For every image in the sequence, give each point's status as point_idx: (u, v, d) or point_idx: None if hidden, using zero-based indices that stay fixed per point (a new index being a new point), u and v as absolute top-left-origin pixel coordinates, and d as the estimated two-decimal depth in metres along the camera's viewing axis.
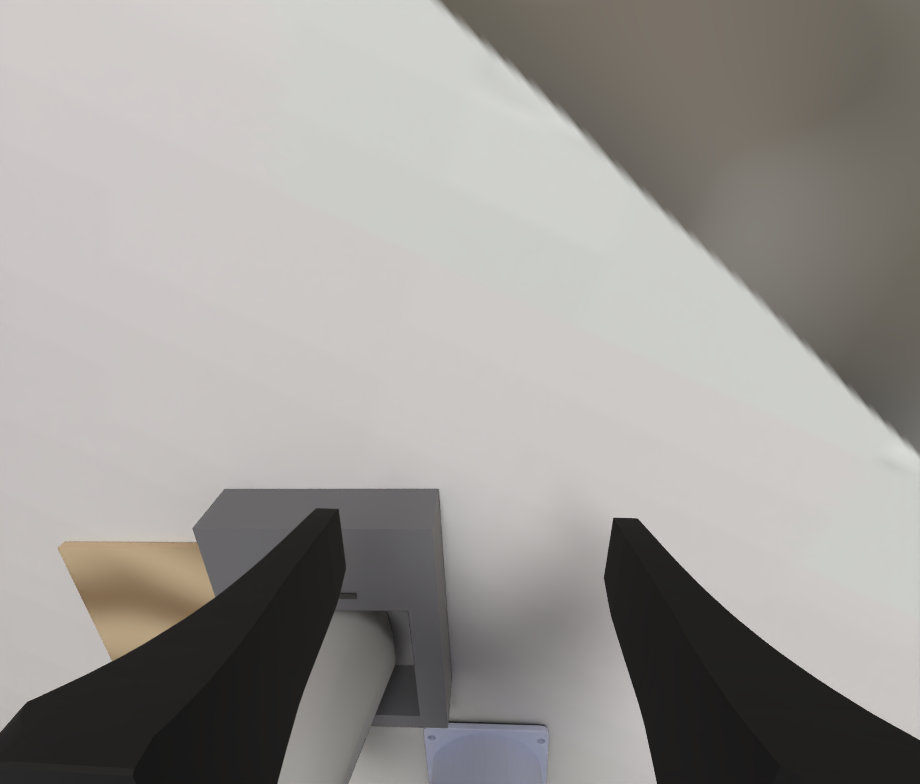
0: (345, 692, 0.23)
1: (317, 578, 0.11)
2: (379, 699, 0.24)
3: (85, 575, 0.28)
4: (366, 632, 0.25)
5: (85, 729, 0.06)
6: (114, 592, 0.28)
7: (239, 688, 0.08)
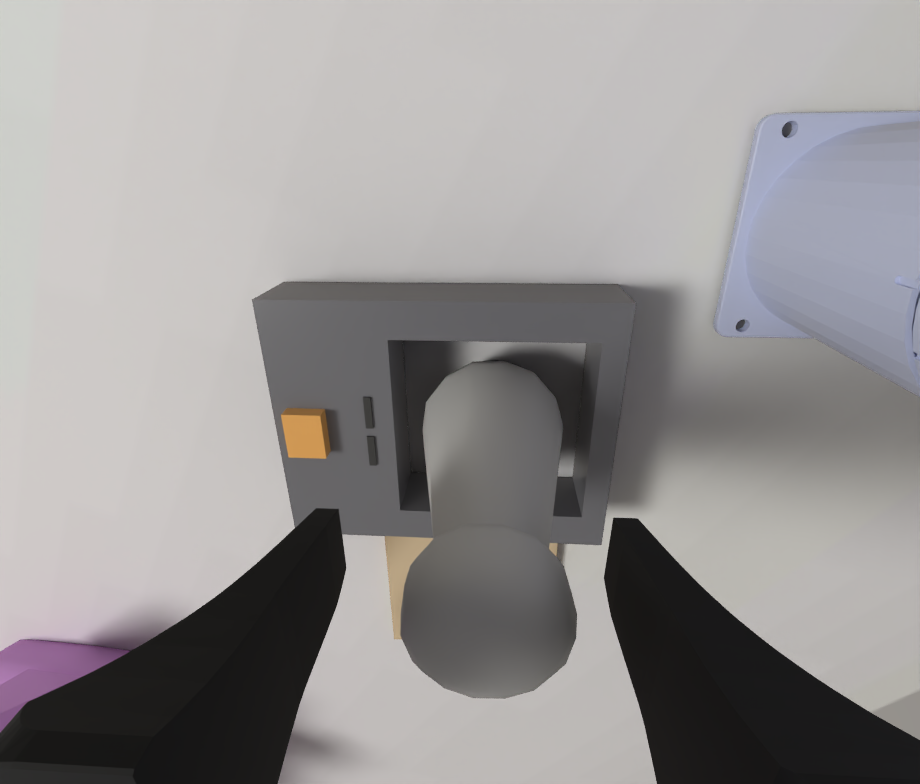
0: (439, 439, 0.17)
1: (317, 578, 0.11)
2: (498, 397, 0.18)
3: None
4: (436, 394, 0.20)
5: (84, 729, 0.06)
6: None
7: (239, 689, 0.08)
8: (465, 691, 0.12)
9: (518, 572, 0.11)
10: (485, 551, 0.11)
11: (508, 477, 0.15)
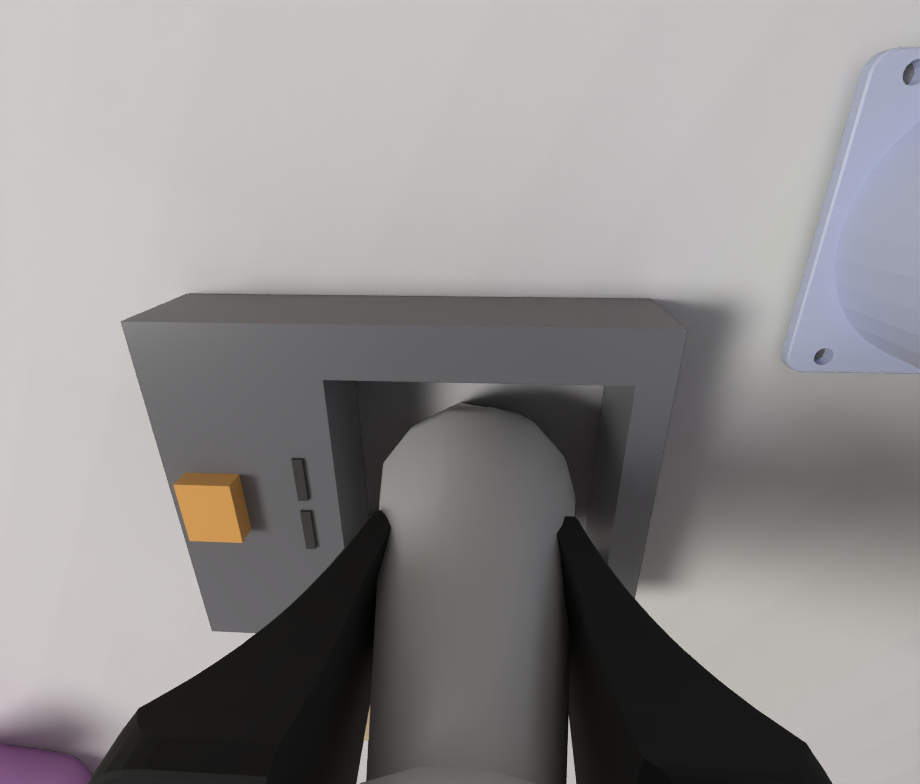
0: (394, 534, 0.11)
1: None
2: (483, 469, 0.12)
3: None
4: (396, 454, 0.14)
5: (206, 737, 0.06)
6: None
7: (333, 693, 0.08)
8: None
9: None
10: None
11: (499, 627, 0.09)
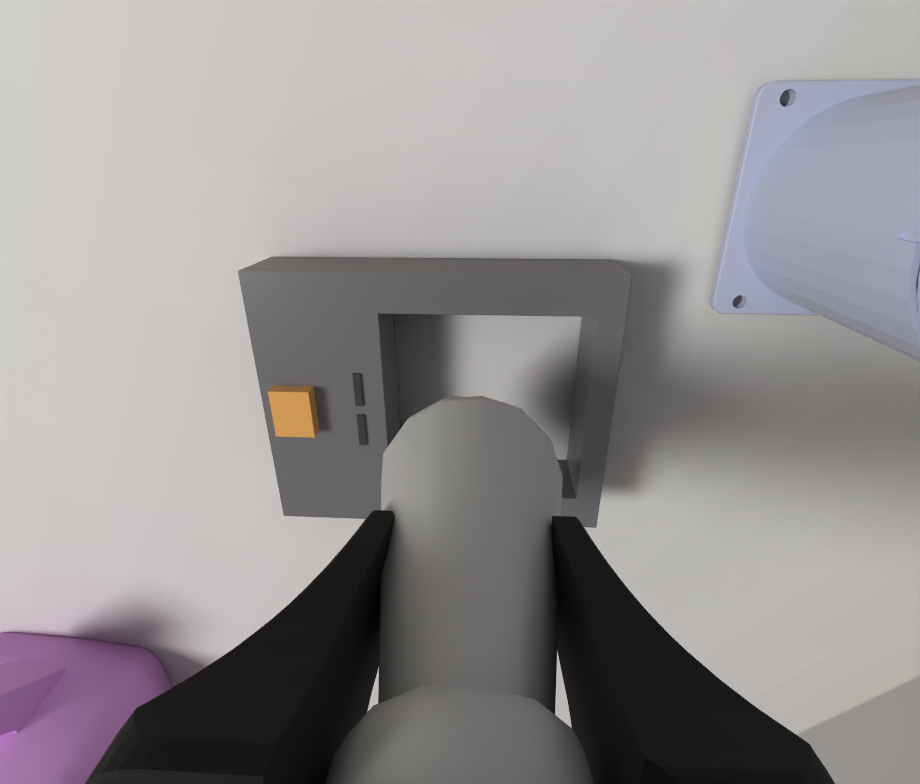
0: (395, 511, 0.12)
1: None
2: (475, 449, 0.13)
3: None
4: (395, 443, 0.15)
5: (205, 737, 0.06)
6: None
7: (331, 693, 0.08)
8: None
9: None
10: (450, 757, 0.06)
11: (491, 579, 0.10)
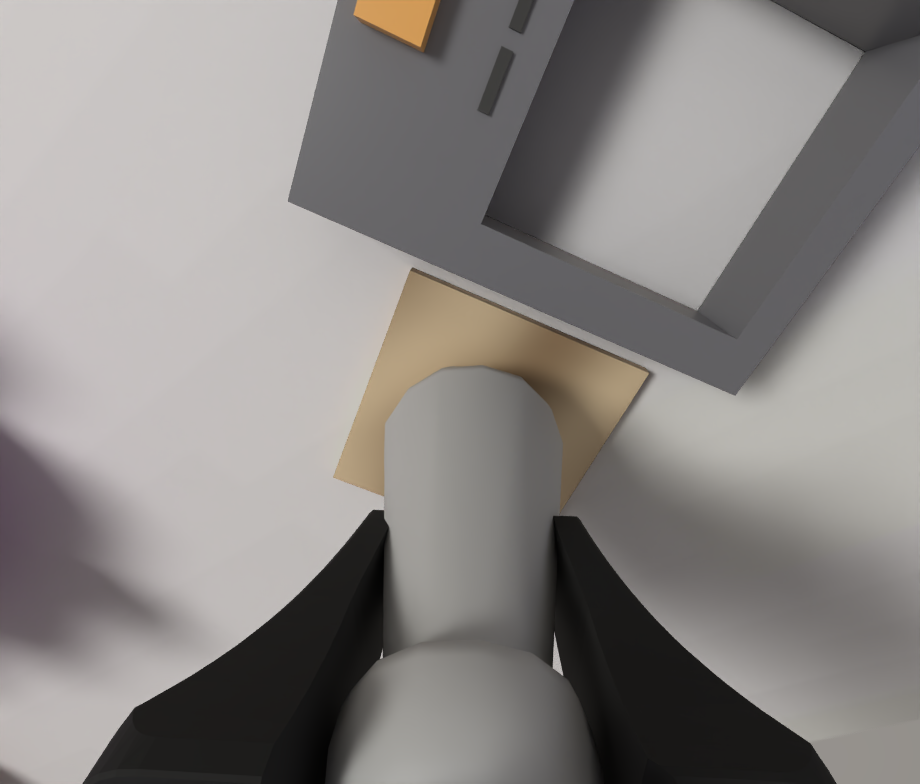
0: (397, 479, 0.13)
1: (381, 581, 0.11)
2: (474, 417, 0.13)
3: None
4: (396, 413, 0.15)
5: (203, 736, 0.06)
6: None
7: (329, 693, 0.08)
8: None
9: (504, 746, 0.06)
10: (449, 705, 0.07)
11: (490, 542, 0.10)
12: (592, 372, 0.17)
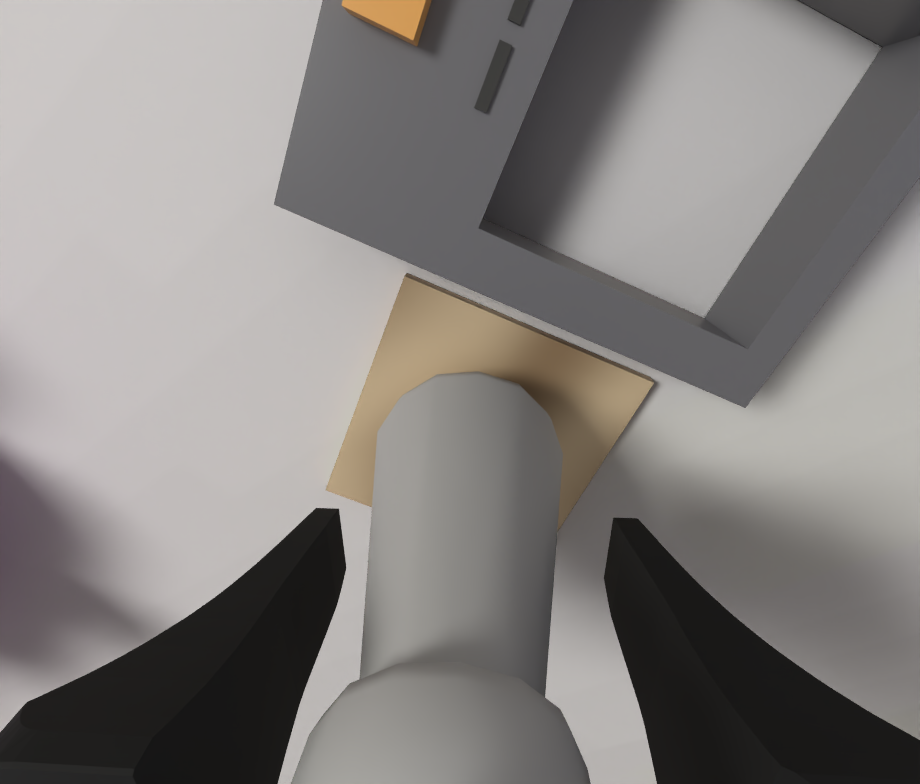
0: (385, 488, 0.12)
1: (317, 578, 0.11)
2: (468, 424, 0.12)
3: None
4: (388, 420, 0.15)
5: (85, 730, 0.06)
6: None
7: (240, 688, 0.08)
8: None
9: None
10: (423, 736, 0.06)
11: (479, 555, 0.09)
12: (594, 382, 0.17)
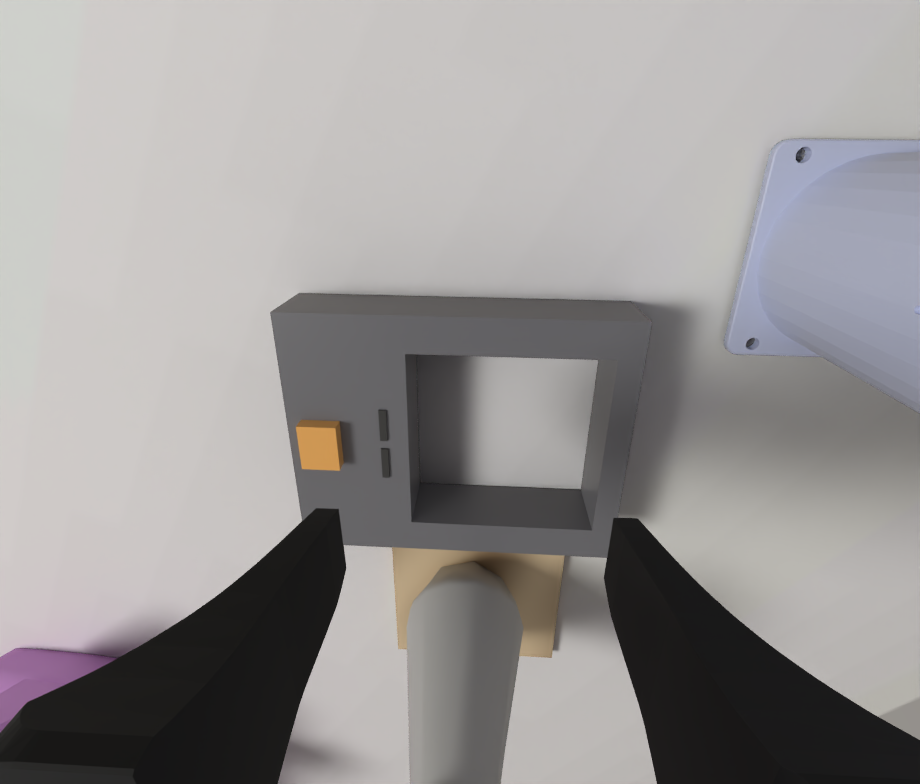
0: (410, 680, 0.22)
1: (317, 578, 0.11)
2: (443, 631, 0.22)
3: None
4: (408, 622, 0.24)
5: (84, 729, 0.06)
6: None
7: (239, 688, 0.08)
8: None
9: None
10: None
11: (451, 727, 0.19)
12: None
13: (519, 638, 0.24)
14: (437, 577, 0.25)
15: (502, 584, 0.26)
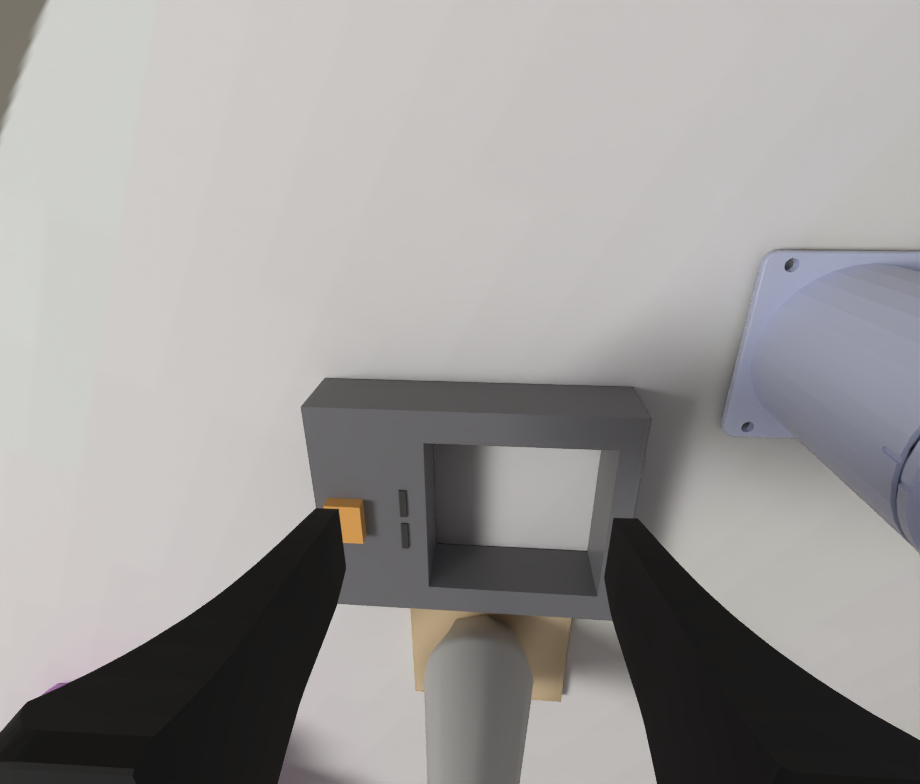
0: (429, 735, 0.23)
1: (317, 578, 0.11)
2: (458, 688, 0.24)
3: None
4: (426, 675, 0.26)
5: (84, 729, 0.06)
6: None
7: (239, 689, 0.08)
8: None
9: None
10: None
11: None
12: None
13: (529, 692, 0.25)
14: (452, 631, 0.27)
15: (513, 637, 0.27)
